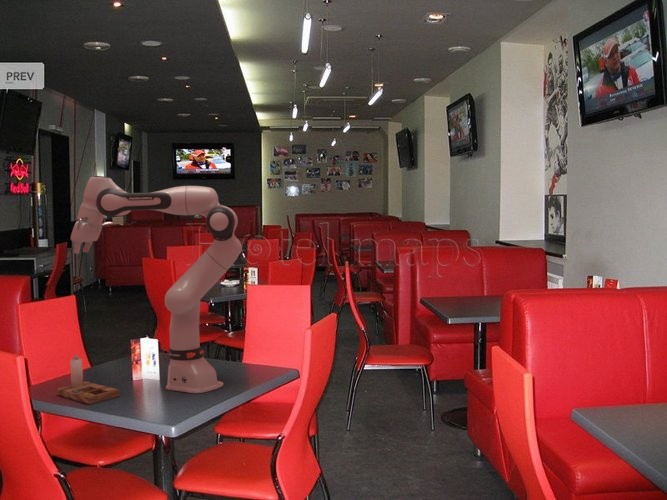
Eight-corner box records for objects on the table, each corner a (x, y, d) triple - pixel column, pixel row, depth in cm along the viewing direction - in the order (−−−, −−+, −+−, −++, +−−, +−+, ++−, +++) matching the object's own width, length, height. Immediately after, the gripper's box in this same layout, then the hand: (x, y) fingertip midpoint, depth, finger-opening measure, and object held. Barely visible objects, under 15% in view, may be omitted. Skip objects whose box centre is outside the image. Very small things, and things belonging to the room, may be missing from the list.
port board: (119, 396, 240) (119, 388, 240) (89, 404, 230) (89, 396, 230) (87, 388, 253) (86, 380, 253) (57, 395, 243) (56, 387, 243)
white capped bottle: (83, 384, 248) (81, 354, 248) (83, 387, 245) (81, 356, 244) (71, 385, 247) (69, 355, 246) (71, 388, 243) (70, 357, 242)
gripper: (88, 219, 240) (78, 256, 241) (107, 219, 260) (97, 253, 261) (71, 214, 240) (61, 251, 240) (91, 215, 260) (82, 249, 261)
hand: (80, 252), depth 251 cm, fingers open, 8 cm apart
